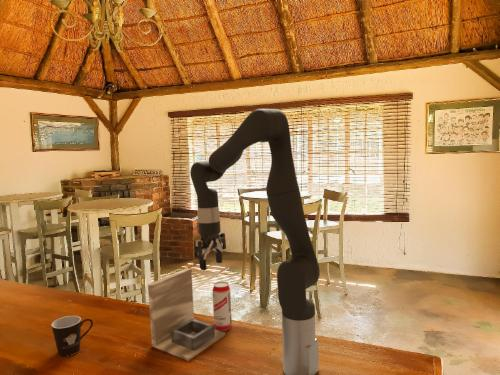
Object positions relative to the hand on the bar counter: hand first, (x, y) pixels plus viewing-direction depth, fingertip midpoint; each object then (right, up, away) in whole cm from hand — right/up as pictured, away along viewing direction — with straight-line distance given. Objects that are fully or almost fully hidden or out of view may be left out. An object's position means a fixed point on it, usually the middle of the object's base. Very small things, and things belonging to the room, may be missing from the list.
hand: (211, 266), depth 135 cm
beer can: (+4, -23, +4) cm, 23 cm away
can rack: (-7, -24, -4) cm, 25 cm away
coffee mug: (-44, -26, -8) cm, 51 cm away
